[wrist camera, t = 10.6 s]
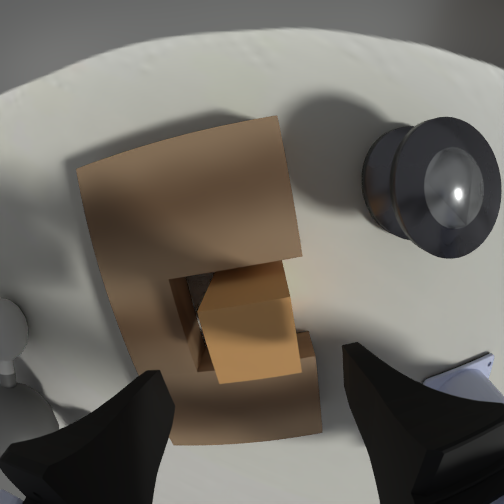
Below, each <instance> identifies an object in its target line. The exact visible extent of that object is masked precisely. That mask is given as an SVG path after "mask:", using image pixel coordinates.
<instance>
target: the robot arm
mask: <svg viewBox="0 0 504 504" xmlns="http://www.w3.org/2000/svg"><path fill="white" fill-rule="evenodd" d="M342 352H343V372H344V388H345V391H346V395H347V399H348V403H349V406H350V409H351V411H352V414H353V416H354V419H355V421H356V424H357V426H358V428H359V431H360V433H361V436H362V438H363V441H364V443H365V446H366V448H367V451H368V454H369V457H370V461H371V465H372V468H373V472H374V476H375V481H376V485H377V490H378V494H379V499H380V504H504V396H503V395H502V394H501V392H500V391H499V390H498V389H497V388H496V387H495V386H494V385H493V384H492V382H491V381H490V380H489V376H490V372H491V368H492V365H493V361H494V355H493V354H492V353H490V354H488V355H486V356H483V357H481V358H479V359H476V360H474V361H472V362H469V363H467V364H465V365H462V366H460V367H457V368H455V369H452V370H450V371H447V372H444V373H442V374H439V375H436V376H433V377H431V378H428V379H426V380H425V381H424V382H423V384H421V383H419V382H416V381H414V380H412V379H410V378H409V377H407V376H405V375H403V374H402V373H400V372H398V371H397V370H395V369H393V368H392V367H391V366H389V365H388V364H386V363H385V362H383V361H382V360H381V359H379V358H378V357H376V356H375V355H374V354H373V353H371V352H370V351H369V350H367V349H366V348H365V347H364V346H362V345H361V344H360V343H358V342H355V343H351V344H346V345H342ZM174 413H175V404H174V402H173V400H172V398H171V395H170V393H169V391H168V388H167V386H166V384H165V381H164V379H163V376H162V374H161V371H160V370H147V371H145V372H144V373H142V374H141V375H140V376H138V377H137V378H136V379H134V380H133V381H132V382H131V383H130V384H128V385H127V386H126V387H125V388H123V389H122V390H121V391H120V392H119V393H117V394H116V395H115V396H114V397H112V398H111V399H110V400H108V401H107V402H106V403H104V404H103V405H101V406H100V407H99V408H97V409H96V410H95V411H93V412H91V413H90V414H88V415H87V416H85V417H83V418H82V419H80V420H78V421H76V422H74V423H72V424H70V425H68V426H66V427H64V428H62V429H60V430H57V431H55V432H52V433H50V434H47V435H44V436H41V437H37V438H34V439H30V440H25V441H21V442H16V443H11V444H10V445H9V447H8V448H7V449H6V451H5V452H4V453H3V455H2V456H1V457H0V468H1V470H2V472H3V473H4V474H5V475H6V476H7V477H8V479H9V480H10V481H11V482H12V483H13V484H14V485H15V486H16V487H17V488H18V489H19V490H20V491H21V492H22V493H23V494H24V495H25V496H26V499H25V500H24V501H22V500H21V499H20V498H18V497H16V496H14V495H13V494H11V493H9V492H7V491H5V490H3V489H1V490H0V504H152V501H153V494H154V488H155V482H156V476H157V472H158V469H159V465H160V462H161V459H162V456H163V453H164V450H165V447H166V444H167V441H168V438H169V435H170V432H171V429H172V425H173V419H174Z"/></svg>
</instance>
